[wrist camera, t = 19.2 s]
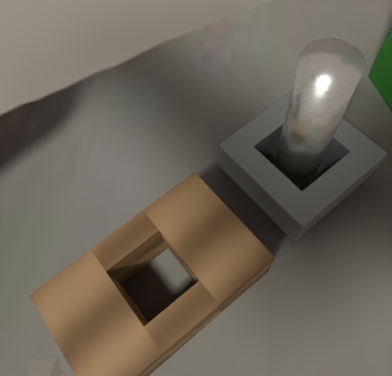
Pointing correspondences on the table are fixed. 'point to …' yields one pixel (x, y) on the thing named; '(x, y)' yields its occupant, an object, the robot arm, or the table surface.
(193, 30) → the table surface
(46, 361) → the robot arm
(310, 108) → the translucent white cylinder
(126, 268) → the tan hollow box
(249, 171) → the socket
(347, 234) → the table surface
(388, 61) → the hardback book
